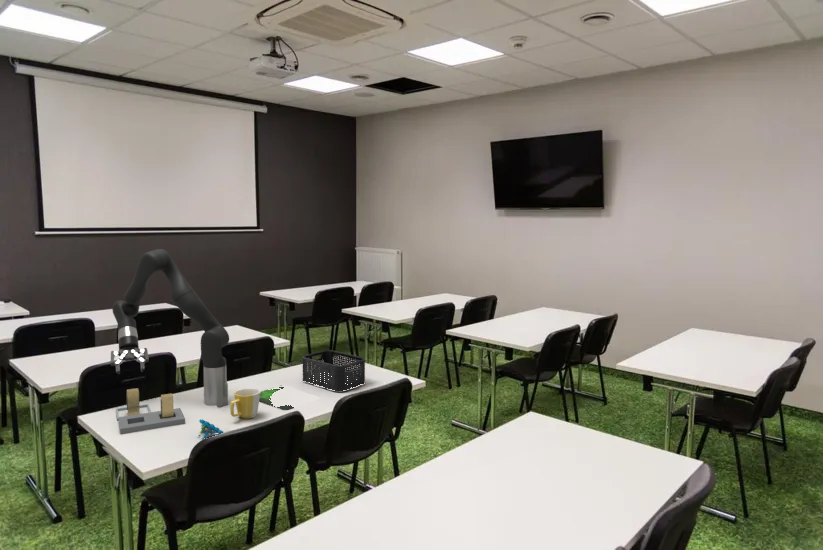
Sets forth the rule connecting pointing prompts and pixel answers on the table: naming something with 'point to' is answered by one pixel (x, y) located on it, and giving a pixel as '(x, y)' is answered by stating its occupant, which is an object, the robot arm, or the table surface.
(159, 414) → the grey slotted fixture block
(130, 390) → the brass billet
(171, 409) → the seated billet
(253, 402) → the mug
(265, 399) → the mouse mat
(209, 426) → the blue and green toy
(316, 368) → the storage bin
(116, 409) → the light blue tray
